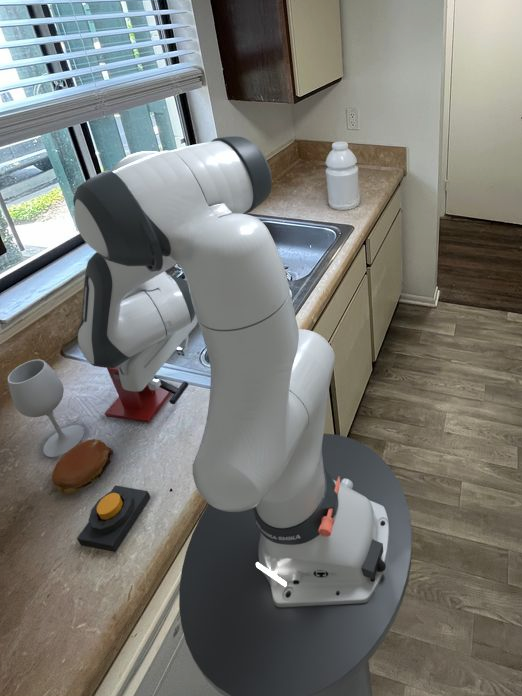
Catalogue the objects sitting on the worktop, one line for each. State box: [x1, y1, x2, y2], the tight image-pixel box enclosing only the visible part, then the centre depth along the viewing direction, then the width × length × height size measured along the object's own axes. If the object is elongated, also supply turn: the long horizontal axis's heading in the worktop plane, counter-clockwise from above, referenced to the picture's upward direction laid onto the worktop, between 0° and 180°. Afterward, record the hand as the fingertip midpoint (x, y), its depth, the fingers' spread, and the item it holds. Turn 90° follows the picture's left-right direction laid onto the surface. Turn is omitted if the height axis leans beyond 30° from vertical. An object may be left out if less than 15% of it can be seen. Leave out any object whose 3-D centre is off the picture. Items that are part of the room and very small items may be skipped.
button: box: [97, 493, 123, 520], centre depth 78 cm, size 4×4×2 cm
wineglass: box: [7, 359, 85, 458], centre depth 90 cm, size 8×8×21 cm
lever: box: [154, 375, 190, 405], centre depth 98 cm, size 15×5×2 cm, turn 82°
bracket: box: [104, 366, 173, 424], centre depth 100 cm, size 11×9×14 cm
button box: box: [76, 484, 151, 553], centre depth 79 cm, size 7×9×4 cm
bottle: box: [324, 140, 361, 211], centre depth 187 cm, size 14×14×28 cm
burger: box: [51, 438, 114, 496], centre depth 87 cm, size 10×9×5 cm
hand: (170, 369), depth 95 cm, fingers open, 8 cm apart
